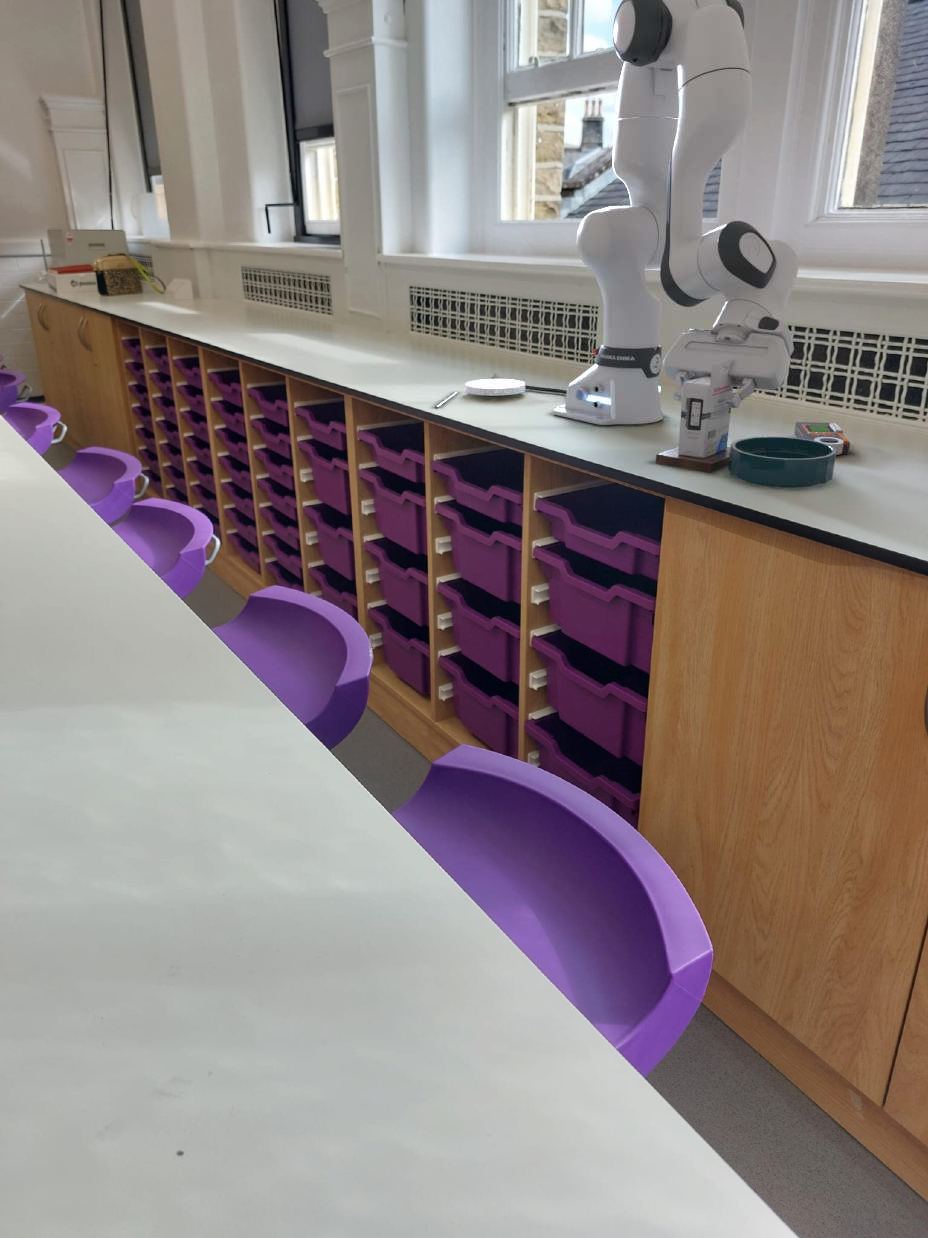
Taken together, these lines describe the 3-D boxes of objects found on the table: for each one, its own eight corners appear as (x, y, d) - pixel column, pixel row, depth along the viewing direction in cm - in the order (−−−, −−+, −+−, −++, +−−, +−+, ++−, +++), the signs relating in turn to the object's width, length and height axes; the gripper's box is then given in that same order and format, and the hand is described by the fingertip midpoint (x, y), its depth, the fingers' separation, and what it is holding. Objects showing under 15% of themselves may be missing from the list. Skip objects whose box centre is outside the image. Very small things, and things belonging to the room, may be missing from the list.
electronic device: (812, 442, 145) (796, 419, 159) (809, 459, 147) (793, 435, 160) (855, 443, 144) (835, 420, 158) (852, 460, 146) (832, 436, 159)
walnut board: (655, 463, 144) (656, 454, 144) (692, 449, 152) (693, 441, 152) (710, 473, 138) (711, 463, 137) (745, 458, 146) (747, 449, 145)
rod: (434, 409, 191) (434, 406, 191) (454, 394, 208) (454, 391, 208) (437, 409, 191) (437, 406, 191) (457, 394, 208) (457, 391, 208)
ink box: (700, 445, 149) (708, 355, 143) (727, 449, 146) (737, 357, 140) (675, 454, 143) (683, 361, 137) (704, 459, 140) (713, 364, 134)
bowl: (710, 477, 135) (713, 449, 133) (755, 459, 145) (758, 432, 144) (806, 495, 126) (810, 464, 124) (847, 474, 136) (852, 445, 134)
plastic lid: (475, 401, 197) (475, 390, 196) (458, 391, 209) (458, 380, 208) (533, 397, 201) (534, 386, 199) (513, 387, 213) (513, 377, 212)
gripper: (678, 315, 147) (642, 382, 145) (795, 323, 134) (758, 396, 132) (689, 340, 152) (654, 406, 150) (803, 350, 139) (768, 421, 137)
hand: (704, 401), depth 141 cm, fingers open, 8 cm apart
